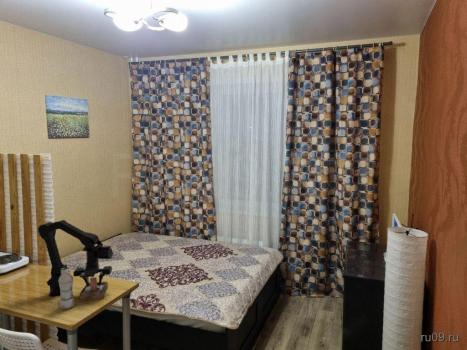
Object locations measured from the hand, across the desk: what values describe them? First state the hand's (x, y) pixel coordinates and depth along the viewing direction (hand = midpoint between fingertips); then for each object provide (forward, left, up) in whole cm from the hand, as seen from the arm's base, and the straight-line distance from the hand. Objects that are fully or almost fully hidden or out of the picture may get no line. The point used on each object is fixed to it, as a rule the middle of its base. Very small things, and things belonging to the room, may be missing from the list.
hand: (94, 286), depth 183 cm
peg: (0, 0, -4) cm, 4 cm away
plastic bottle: (-9, -13, -5) cm, 17 cm away
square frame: (0, 0, -4) cm, 4 cm away
